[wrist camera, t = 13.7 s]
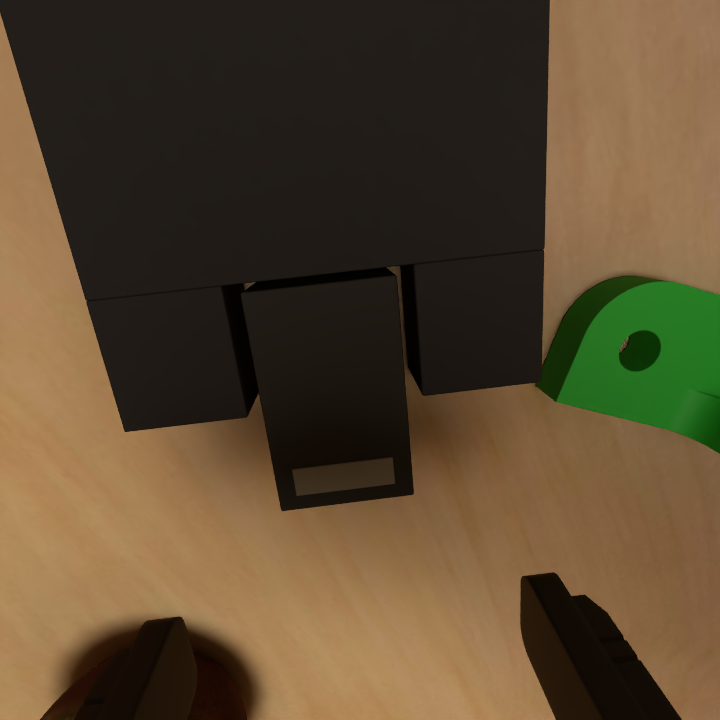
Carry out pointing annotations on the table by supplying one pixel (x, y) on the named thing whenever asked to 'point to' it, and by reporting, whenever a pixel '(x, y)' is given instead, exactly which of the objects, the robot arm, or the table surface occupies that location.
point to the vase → (209, 707)
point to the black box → (332, 386)
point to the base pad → (292, 177)
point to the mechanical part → (641, 356)
